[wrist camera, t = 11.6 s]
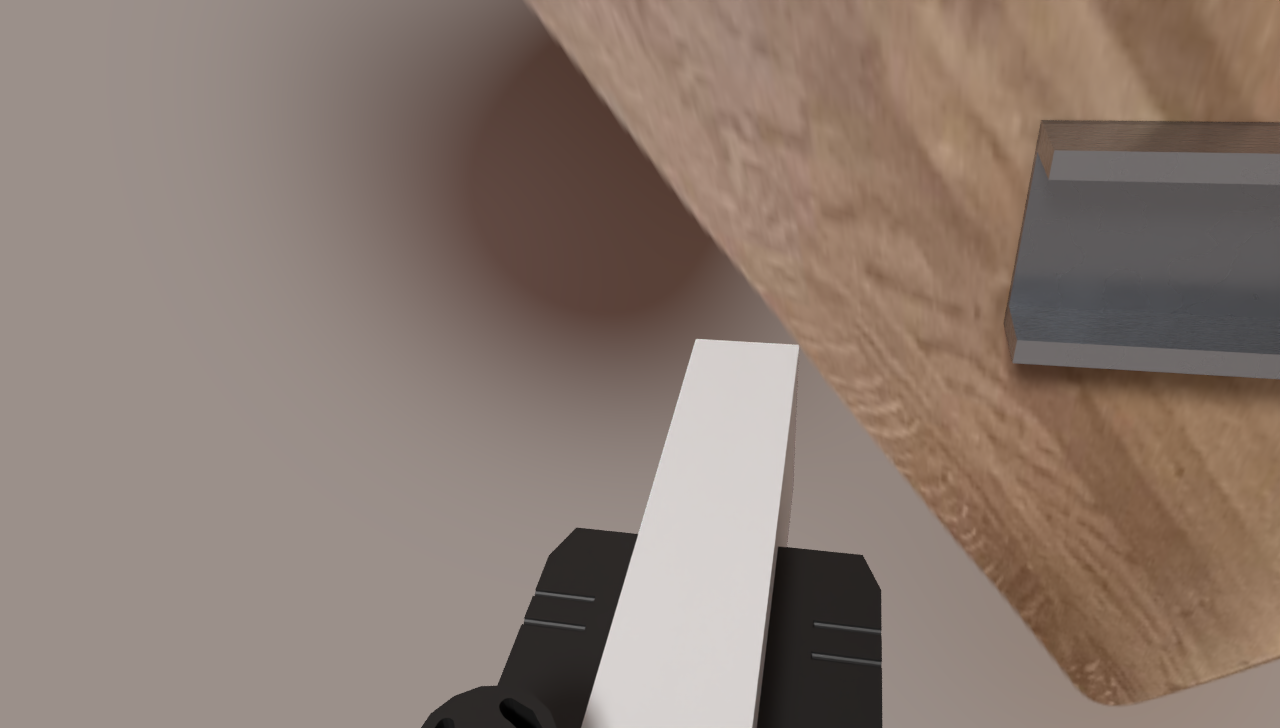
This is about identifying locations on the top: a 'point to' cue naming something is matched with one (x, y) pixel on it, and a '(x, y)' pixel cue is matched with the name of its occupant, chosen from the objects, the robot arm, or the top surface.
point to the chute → (1151, 249)
